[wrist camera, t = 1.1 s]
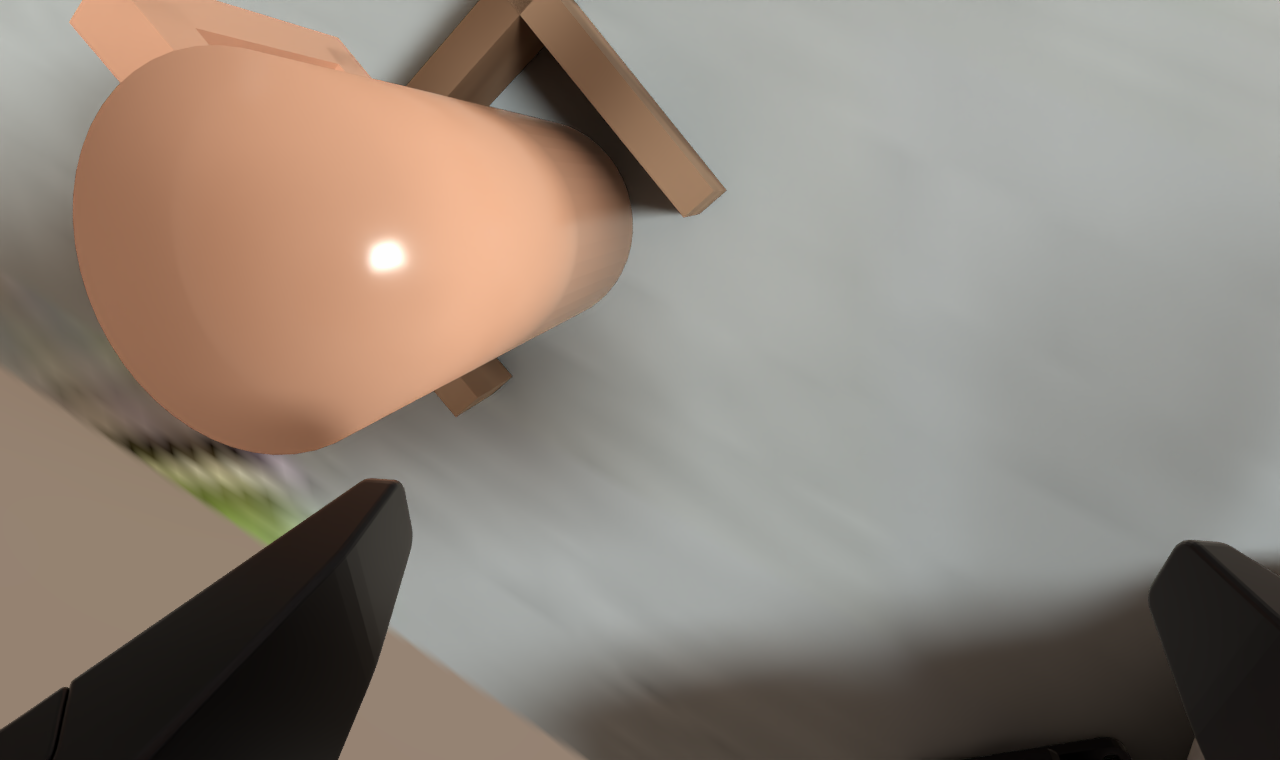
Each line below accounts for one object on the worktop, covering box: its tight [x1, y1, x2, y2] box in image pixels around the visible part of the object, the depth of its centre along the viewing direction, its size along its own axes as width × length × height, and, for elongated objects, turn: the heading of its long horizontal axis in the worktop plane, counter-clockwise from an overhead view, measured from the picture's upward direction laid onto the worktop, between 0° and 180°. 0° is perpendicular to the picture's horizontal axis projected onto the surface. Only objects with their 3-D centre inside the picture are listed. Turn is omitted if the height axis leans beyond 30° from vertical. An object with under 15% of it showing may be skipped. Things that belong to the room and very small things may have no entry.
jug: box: [69, 0, 633, 455], centre depth 16 cm, size 8×6×12 cm
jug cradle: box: [406, 0, 726, 417], centre depth 21 cm, size 8×10×2 cm
